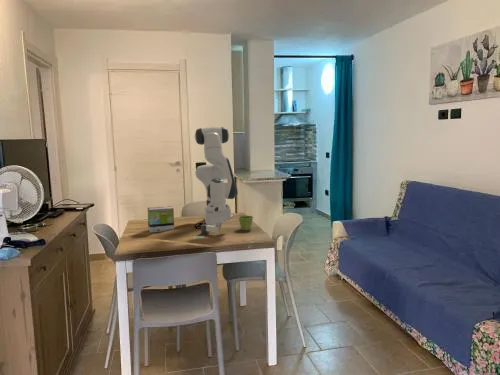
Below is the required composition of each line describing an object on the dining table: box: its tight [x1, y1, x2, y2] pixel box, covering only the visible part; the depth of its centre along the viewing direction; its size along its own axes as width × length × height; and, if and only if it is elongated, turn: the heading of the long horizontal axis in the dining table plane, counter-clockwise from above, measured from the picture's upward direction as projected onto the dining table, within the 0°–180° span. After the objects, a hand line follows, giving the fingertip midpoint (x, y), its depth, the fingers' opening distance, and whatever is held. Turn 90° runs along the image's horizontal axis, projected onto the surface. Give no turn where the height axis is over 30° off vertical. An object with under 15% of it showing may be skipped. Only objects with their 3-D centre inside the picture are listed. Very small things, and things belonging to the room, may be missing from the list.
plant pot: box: [237, 215, 254, 231], centre depth 247 cm, size 9×9×9 cm
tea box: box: [147, 205, 175, 233], centre depth 253 cm, size 15×10×15 cm, turn 112°
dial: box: [191, 233, 223, 240], centre depth 238 cm, size 25×25×1 cm
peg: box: [200, 223, 223, 235], centre depth 234 cm, size 15×5×5 cm, turn 55°
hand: (219, 229), depth 234 cm, fingers closed
